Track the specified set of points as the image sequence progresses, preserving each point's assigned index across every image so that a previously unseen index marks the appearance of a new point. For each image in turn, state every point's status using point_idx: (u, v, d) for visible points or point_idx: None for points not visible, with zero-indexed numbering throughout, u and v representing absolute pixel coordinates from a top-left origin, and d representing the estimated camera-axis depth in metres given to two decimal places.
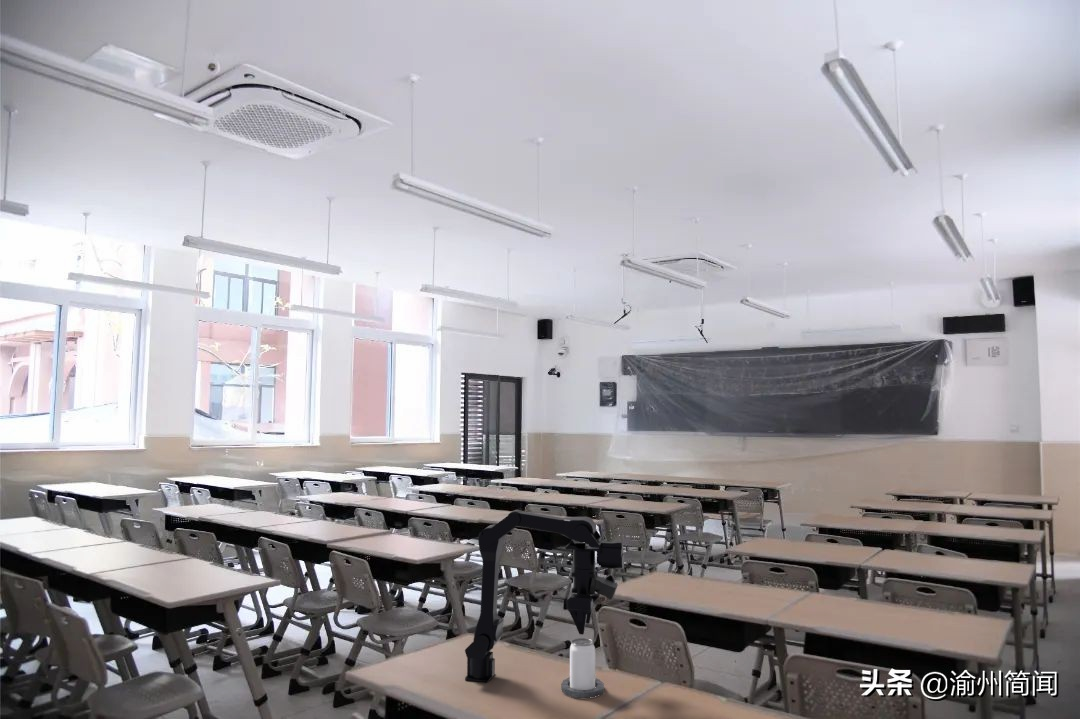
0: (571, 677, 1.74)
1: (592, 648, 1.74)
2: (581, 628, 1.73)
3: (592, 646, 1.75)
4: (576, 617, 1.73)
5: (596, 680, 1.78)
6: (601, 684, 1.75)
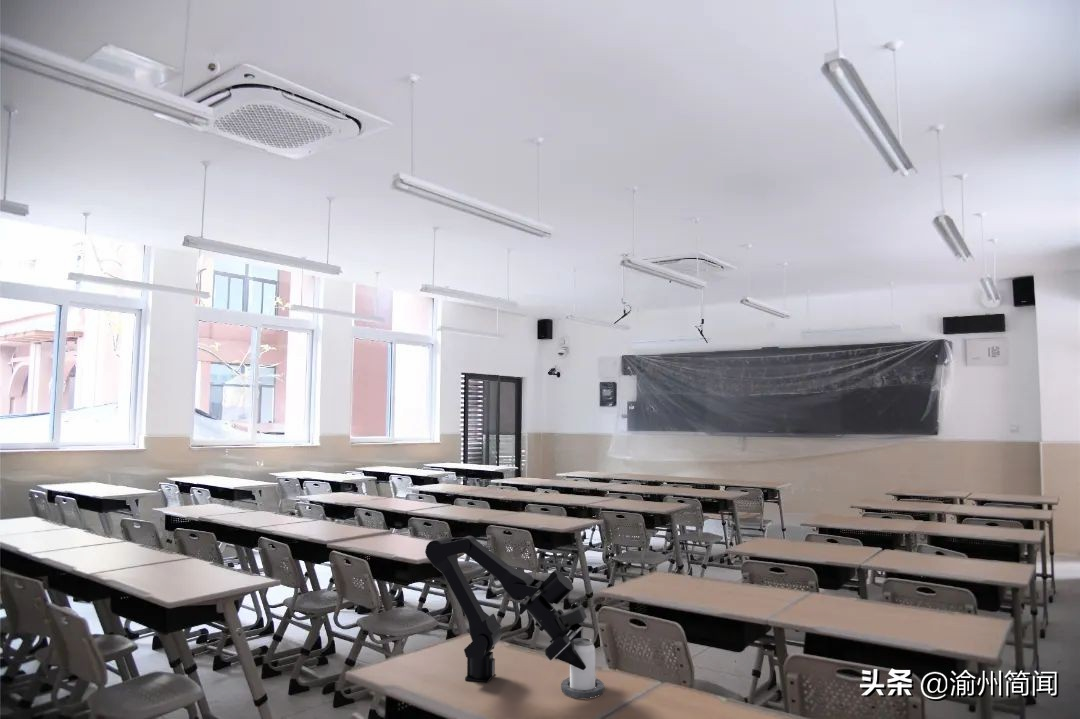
0: (571, 677, 1.74)
1: (592, 648, 1.74)
2: (579, 664, 1.72)
3: (592, 646, 1.75)
4: (568, 658, 1.72)
5: (596, 680, 1.78)
6: (601, 684, 1.75)
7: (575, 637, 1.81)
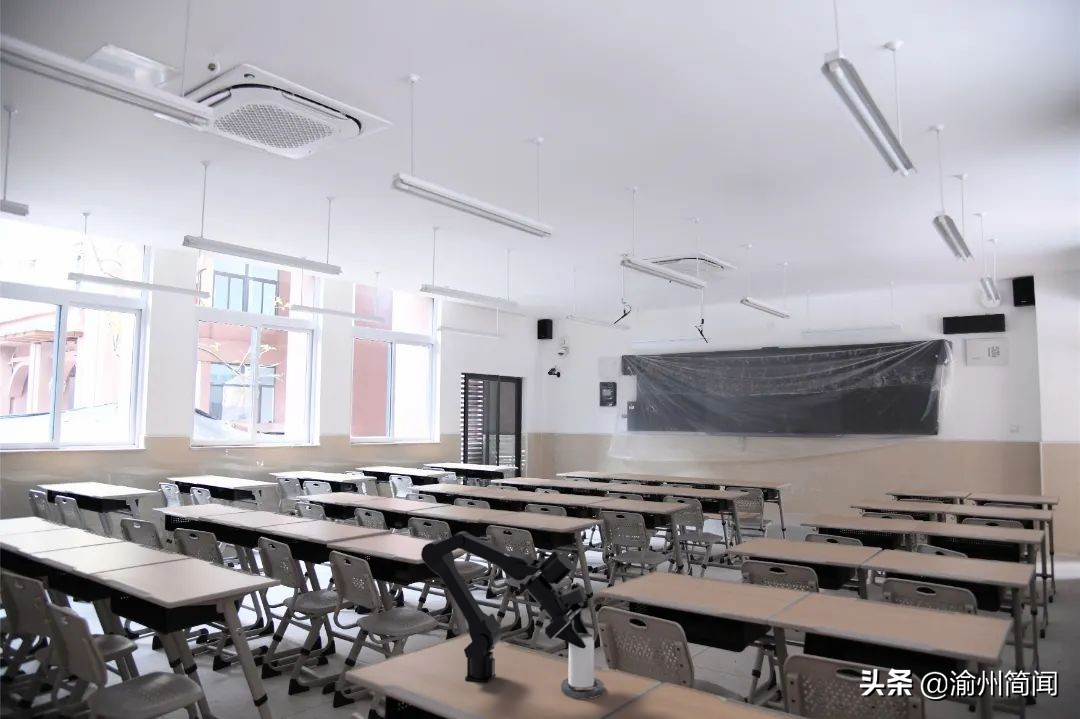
0: (570, 671, 1.73)
1: (591, 641, 1.75)
2: (579, 643, 1.73)
3: (591, 639, 1.75)
4: (568, 637, 1.73)
5: (596, 680, 1.78)
6: (601, 684, 1.75)
7: (574, 618, 1.81)
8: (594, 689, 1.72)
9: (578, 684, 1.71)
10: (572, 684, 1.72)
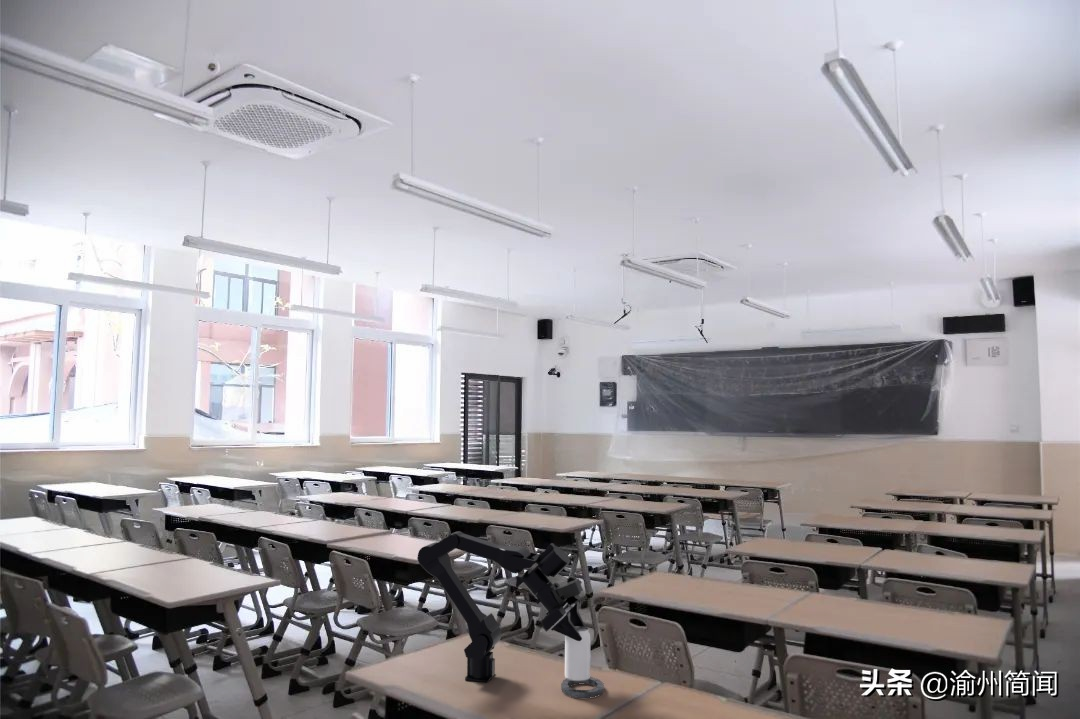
0: (566, 664, 1.74)
1: (587, 634, 1.75)
2: (575, 636, 1.73)
3: (587, 632, 1.76)
4: (564, 630, 1.73)
5: (596, 680, 1.78)
6: (601, 684, 1.75)
7: (571, 611, 1.81)
8: (594, 689, 1.72)
9: (574, 677, 1.72)
10: (568, 677, 1.73)
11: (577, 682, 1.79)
